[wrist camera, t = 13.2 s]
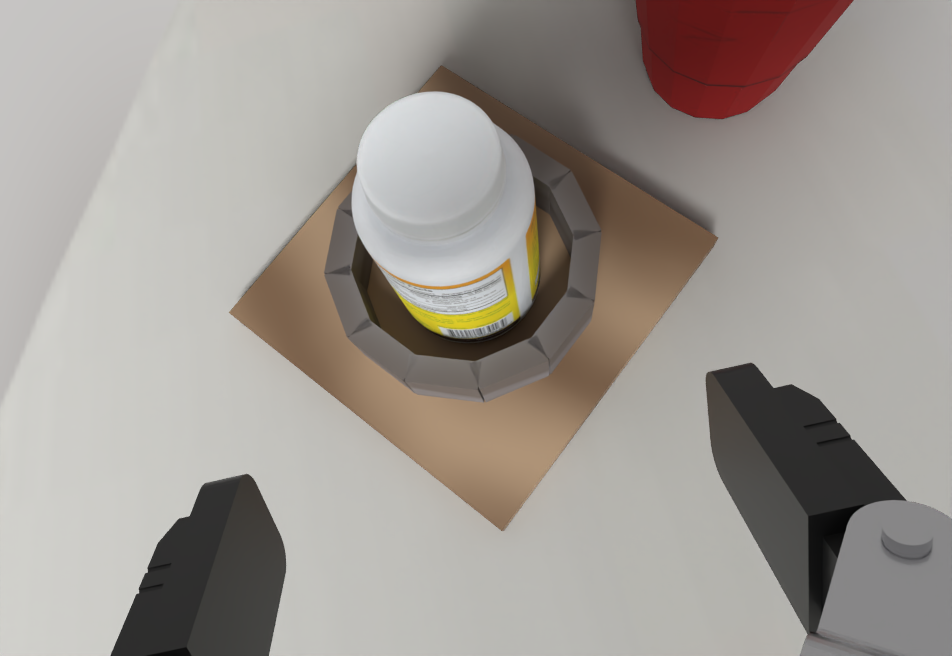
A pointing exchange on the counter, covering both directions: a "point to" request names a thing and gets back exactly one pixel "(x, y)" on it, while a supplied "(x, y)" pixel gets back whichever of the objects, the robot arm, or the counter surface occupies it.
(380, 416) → the ring collar
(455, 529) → the counter surface
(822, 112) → the counter surface
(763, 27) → the plastic cup
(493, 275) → the supplement bottle
